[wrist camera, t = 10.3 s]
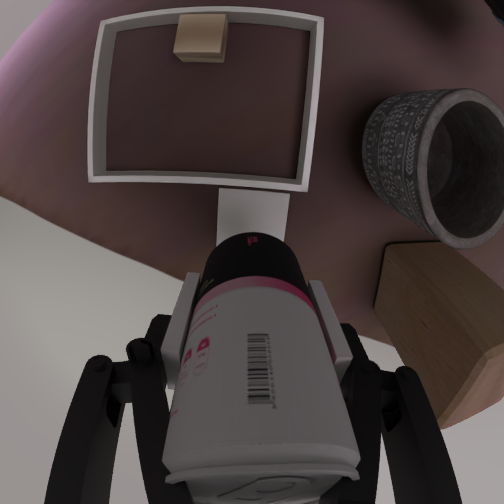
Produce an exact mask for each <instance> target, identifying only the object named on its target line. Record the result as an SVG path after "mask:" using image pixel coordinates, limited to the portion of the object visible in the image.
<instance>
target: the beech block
mask: <svg viewBox="0 0 504 504" xmlns="http://www.w3.org/2000/svg"><path fill="white" fill-rule="evenodd" d="M228 31H229V27H228V22H227V17H226V14H185V15H180V17H179V22H178V27H177V33H176V38H175V44H174V50H173V53H174V54H175V55H176V56H177V57H178V58H179V59H180V60H181V61H182V62H213V63H224V58H225V51H226V44H227V37H228Z"/></svg>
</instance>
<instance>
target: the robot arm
mask: <svg viewBox="0 0 504 504" xmlns="http://www.w3.org/2000/svg"><path fill="white" fill-rule="evenodd" d="M484 1H485V2H486V3H487V5H488V6H489V7H490V9H491V10H492V13H493V15H494V16H495V18H496V19H497V20H498V21H499V22H500V23H501V24H502V25H503V26H504V0H484ZM199 288H200V273H192V272H188V273H187V275H186V278H185V281H184V284H183V286H182V289H181V292H180V295H179V297H178V300H177V303H176V306H175V308H174V311H173V314H172V315H163V314H158V315H157V316H156V317H154V318H153V319H152V321H151V323H150V326H149V328H148V331H147V334H146V336H145V338H137V339H134V340H132V341H130V342H129V343H128V345H127V347H126V352H127V355H128V359H129V360H128V361H123V362H112V360H111V359H110V358H109V357H108V356H105V355H97V356H93V357H92V358H90V359H89V360H88V361H87V363H86V365H85V368H84V370H83V373H82V375H81V378H80V381H79V383H78V385H77V388H76V391H75V394H74V396H73V399H72V402H71V405H70V408H69V410H68V414H67V417H66V419H65V423H64V426H63V429H62V433H61V436H60V439H59V442H58V446H57V449H56V453H55V457H54V461H53V464H52V468H51V473H50V477H49V481H48V486H47V491H46V497H45V502H44V504H109V498H110V489H111V481H112V474H113V467H114V461H115V454H116V449H117V443H118V437H119V432H120V427H121V422H122V417H123V412H124V408H125V403H132V405H133V416H134V425H135V433H136V439H137V447H138V453H139V459H140V465H141V470H142V475H143V480H144V485H145V490H146V494H147V498H148V502H149V504H194V501H193V498H192V495H191V493H190V491H189V489H188V486H187V484H186V482H185V481H181V482H177V483H175V484H170V483H165V480H166V476H168V475H170V474H171V472H170V471H169V470H168V469H167V467H166V466H165V465H164V463H163V462H162V458H163V452H164V447H165V441H166V436H167V431H168V426H169V421H170V420H169V414H170V412H169V407H168V402H167V397H166V392H165V388H166V384H167V385H168V389H174V390H175V386H176V382H177V377H178V373H179V368H180V364H181V360H182V356H183V351H184V347H185V343H186V339H187V335H188V331H189V327H190V323H191V319H192V315H193V311H194V307H195V303H196V299H197V296H198V292H199ZM307 288H308V291H309V294H310V297H311V300H312V302H313V305H314V308H315V311H316V314H317V317H318V320H319V323H320V326H321V329H322V332H323V335H324V338H325V341H326V344H327V347H328V350H329V353H330V356H331V359H332V362H333V366H334V369H335V372H336V375H337V378H338V381H339V385H340V388H341V391H342V394H343V398H344V401H345V404H346V408H347V411H348V415H349V418H350V422H351V425H352V428H353V432H354V436H355V439H356V443H357V446H358V450H359V454H360V461H359V463H358V465H357V466H356V468H355V469H356V470H357V471H358V473H359V477H360V479H358V480H352V479H351V478H350V477H348V476H347V477H343V476H342V477H341V479H340V480H339V481H338V482H337V483H335V484H334V485H333V486H332V487H331V488H330V489H328V490H327V491H326V492H325V493H324V494H322V495H321V496H320V499H319V503H318V504H375V499H376V491H377V483H378V472H379V461H380V444H381V433H382V437H383V441H384V445H385V450H386V455H387V460H388V464H389V470H390V475H391V480H392V485H393V491H394V497H395V503H396V504H462V500H461V497H460V492H459V488H458V485H457V481H456V477H455V474H454V470H453V467H452V464H451V460H450V457H449V454H448V451H447V448H446V445H445V442H444V440H443V437H442V434H441V431H440V428H439V425H438V422H437V420H436V417H435V415H434V412H433V409H432V407H431V404H430V402H429V399H428V397H427V395H426V392H425V390H424V387H423V385H422V383H421V380H420V378H419V376H418V374H417V372H416V371H415V370H414V369H412V368H410V367H408V366H401V367H399V368H397V369H396V371H395V372H389V371H383V370H380V368H379V366H378V365H377V364H376V363H374V362H373V361H370V360H369V359H368V356H367V354H366V352H365V350H364V348H363V346H362V343H361V342H360V339H359V337H358V335H357V332H356V330H355V329H354V328H353V327H352V326H351V325H350V324H349V323H342V324H339V321H338V319H337V317H336V314H335V312H334V310H333V307H332V305H331V303H330V300H329V298H328V296H327V294H326V291H325V289H324V287H323V285H322V282H321V281H317V280H309V282H308V287H307Z"/></svg>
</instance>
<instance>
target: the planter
mask: <svg viewBox="0 0 504 504" xmlns="http://www.w3.org/2000/svg"><path fill="white" fill-rule="evenodd" d="M362 161H363V166H364V170H365V174H366V176H367V179H368V181H369V183H370V185H371V187H372V189H373V190H374V192H375V193H376V194H377V195H378V197H379V198H380V199H381V200H382V201H383V202H385V203H386V204H387V205H389V206H390V207H391V208H393V209H394V210H396V211H397V212H399V213H400V214H402V215H404V216H406V217H407V218H409V219H410V220H411V221H413V222H414V223H415V224H417V225H418V226H419V227H421V228H422V229H424V230H425V231H427V232H428V233H430V234H431V235H433V236H434V237H436V238H437V239H438V240H440V241H441V242H443V243H444V244H446V245H448V246H450V247H452V248H456V249H471V248H475V247H477V246H480V245H482V244H483V243H485V242H487V241H488V240H489V239H491V238H492V237H493V236H494V235H495V234H496V233H497V231H498V230H499V229H500V228H501V226H502V225H503V223H504V114H503V112H502V111H501V109H500V108H499V107H498V105H497V104H496V103H495V102H494V101H493V100H492V99H490V98H489V97H488V96H486V95H485V94H483V93H481V92H479V91H477V90H474V89H468V88H462V89H440V90H429V91H418V92H407V93H402V94H398V95H394V96H391V97H389V98H388V99H386V100H384V101H383V102H382V103H380V104H379V105H378V106H377V107H376V109H375V110H374V111H373V112H372V114H371V116H370V117H369V119H368V121H367V124H366V126H365V129H364V133H363V139H362Z"/></svg>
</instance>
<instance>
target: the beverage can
mask: <svg viewBox="0 0 504 504" xmlns="http://www.w3.org/2000/svg"><path fill="white" fill-rule="evenodd" d="M169 420H170V421H169V426H168V431H167V436H166V441H165V447H164V452H163V458H162V462H163V463H164V465H165V466H166V467H167V469H168V470H169V471H170V472H171V474H170V475H168V476H166V480H165V483H170V484H175V483H177V482H181V481H185V482H186V484H187V486H188V489H189V491H190V493H191V495H192V498H193V501H194V504H318V503H319V499H320V496H321V495H322V494H324V493H325V492H326V491H327V490H328V489H330V488H331V487H332V486H333V485H334V484H335V483H337V482H338V481H339V480H340V479H341V477H342V476H343V477H347V476H348V477H350V478H351V479H352V480H358V479H360V477H359V473H358V471H357V470H356V469H355V468H356V466H357V465H358V463H359V461H360V454H359V450H358V446H357V443H356V439H355V436H354V432H353V428H352V425H351V422H350V418H349V415H348V411H347V408H346V404H345V401H344V398H343V394H342V391H341V388H340V385H339V381H338V378H337V375H336V372H335V369H334V366H333V362H332V359H331V356H330V353H329V350H328V347H327V344H326V341H325V338H324V335H323V332H322V329H321V326H320V323H319V320H318V317H317V314H316V311H315V308H314V305H313V302H312V300H311V297H310V294H309V291H308V288H307V285H306V283H305V280H304V277H303V274H302V272H301V269H300V266H299V263H298V261H297V258H296V256H295V254H294V253H293V251H292V250H291V249H290V247H289V246H288V245H287V244H285V243H284V242H283V241H281V240H280V239H278V238H276V237H274V236H272V235H269V234H265V233H260V232H245V233H240V234H236V235H234V236H231V237H229V238H227V239H225V240H224V241H222V242H221V243H220V244H219V245H218V246H216V247H215V249H214V250H213V251H212V252H211V254H210V256H209V258H208V260H207V262H206V266H205V270H204V273H203V277H202V281H201V284H200V288H199V292H198V296H197V299H196V303H195V307H194V311H193V315H192V319H191V323H190V327H189V331H188V335H187V339H186V343H185V347H184V351H183V356H182V360H181V364H180V368H179V373H178V377H177V382H176V386H175V391H174V395H173V400H172V405H171V409H170V414H169Z"/></svg>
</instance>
